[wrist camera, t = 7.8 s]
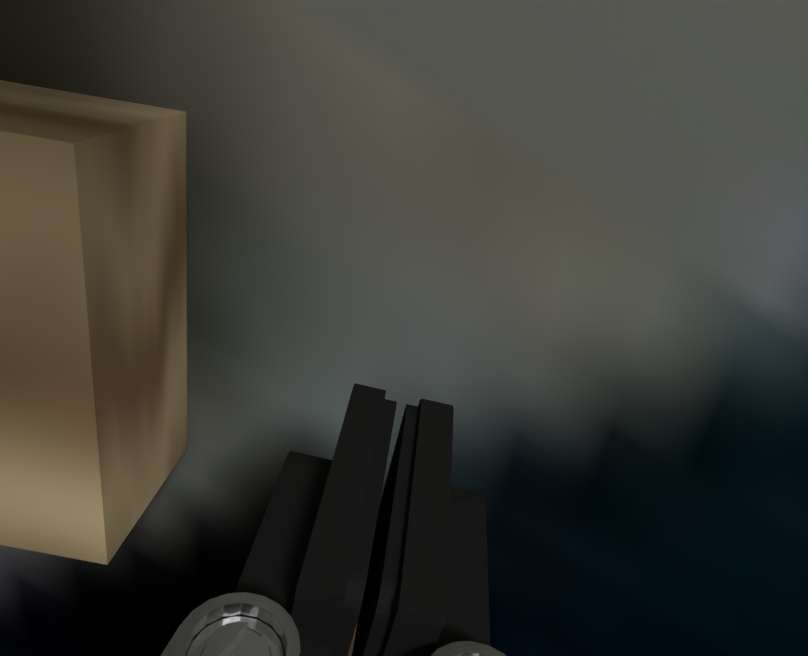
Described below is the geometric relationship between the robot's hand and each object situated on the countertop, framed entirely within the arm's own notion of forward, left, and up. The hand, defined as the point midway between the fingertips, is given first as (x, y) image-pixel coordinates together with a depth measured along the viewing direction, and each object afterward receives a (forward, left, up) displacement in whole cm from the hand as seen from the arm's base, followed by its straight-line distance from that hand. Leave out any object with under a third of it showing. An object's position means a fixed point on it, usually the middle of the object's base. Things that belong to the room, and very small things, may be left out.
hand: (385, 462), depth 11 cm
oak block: (+2, -11, -7) cm, 13 cm away
